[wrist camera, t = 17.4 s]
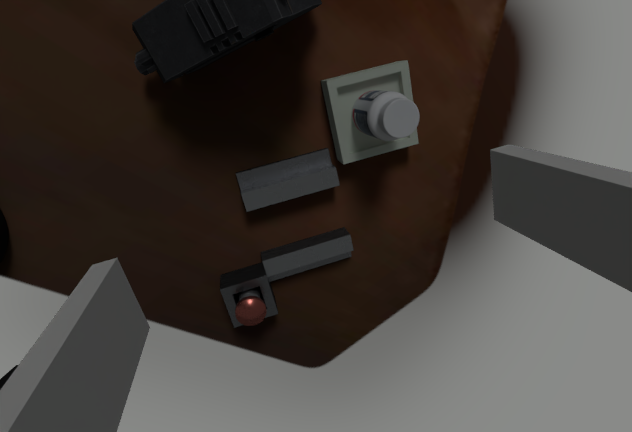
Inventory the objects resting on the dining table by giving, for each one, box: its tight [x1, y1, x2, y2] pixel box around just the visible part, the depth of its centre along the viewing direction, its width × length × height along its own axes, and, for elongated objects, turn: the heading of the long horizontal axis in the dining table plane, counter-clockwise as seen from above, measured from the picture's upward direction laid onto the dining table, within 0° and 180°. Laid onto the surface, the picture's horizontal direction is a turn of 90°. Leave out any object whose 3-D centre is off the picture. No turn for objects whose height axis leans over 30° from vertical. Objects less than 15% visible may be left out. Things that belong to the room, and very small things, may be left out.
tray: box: [321, 60, 419, 164], centre depth 48 cm, size 10×10×3 cm
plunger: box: [235, 286, 267, 326], centre depth 51 cm, size 4×4×6 cm
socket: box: [236, 148, 353, 282], centre depth 51 cm, size 12×16×3 cm
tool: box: [132, 0, 322, 83], centre depth 39 cm, size 6×19×15 cm, turn 115°
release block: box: [220, 262, 278, 328], centre depth 52 cm, size 6×6×4 cm
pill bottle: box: [352, 90, 419, 141], centre depth 44 cm, size 5×5×9 cm
